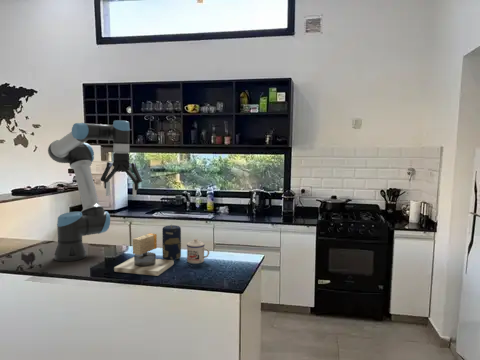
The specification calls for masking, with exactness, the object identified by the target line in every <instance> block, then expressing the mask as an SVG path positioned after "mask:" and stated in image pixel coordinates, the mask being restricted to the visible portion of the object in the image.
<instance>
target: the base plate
mask: <svg viewBox="0 0 480 360" xmlns="http://www.w3.org/2000/svg"><path fill="white" fill-rule="evenodd" d="M174 261H175V260H166V259H164V258H162V259H161V258H156V263H155V264H154V265H151V266H136V265H135V264H134V256H133V257H130V258H129V259H127V260H125V261H123V262H122V263H120V264H118V265H116V266H114V267H113V270H114V272H116V273H124V274H125V273H126V274H134V275H135V274H137V275H143V276H144V275H146V276H155V277H156V276H157V277H158V276H160V275H161V274H163V273H164V272H166V271H167V270H168V269H170V268H172V266H173V265H174V264H175V262H174Z"/></svg>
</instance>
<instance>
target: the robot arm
mask: <svg viewBox="0 0 480 360" xmlns="http://www.w3.org/2000/svg"><path fill="white" fill-rule="evenodd" d="M112 123H113V124H100V123H85V122H76V123H73V125H72V127H71V132H68V134H66V135H64V136H63V137H61V138H60V139H56V140H54V141H53V142H51V143H50V144H49V145H48V148H47V153H48V156H49V157H50V158H51V159H52V160H53V161H54V162H56V163H61V164H69V167H70V169H72V170H73V171H74V176H75V181H76V183H77V188H78V192H79V196H80V200H81V204H82V210H81V211H76V210H75V211H68V212H64V213H62V214H60V215H58V217H57V222H56V227H57V245H56V248H55V252H54V256H53V257H54V261H57V262H73V261H74V262H75V261H79V260H83V259H85V258H87V251H86V248H85V246H84V242H83V236H84V237H85V236H90V235H96V234H98V235H99V234H102V233H105V232H107V231H108V230H109V228H110V226H111V225H110V224H111V214H110V213H109V211H106V210H104V207H103V206H102V205H100V202H99V198H98V194H97V190H96V185H95V181H94V178H93V174H92V173H93V172H92V169H91V166H92V164H93V162H94V160H95V152H94V149H93V147H92V145H91V144H89V143H87V141H88V140H95V141H96V140H99V141H100V140H101V141H112V142H113V143H112V145H113V147H112V148H113V149H112V150H113V154H112V155H113V157H112V159H113V161H107V162H106V167H105V169H104V171H103V173H102V175H101V177H100V181H101V182H103V183H104V184H103V185H104V189H105V196H106V197H107V196H111V181H110V180H111V179H112V178H113V177H114V175H115V174H116V173H118V172H119V173H126V175H127V176H128V177H129V179H131V181H132V182H133V183H132V197H133V198H135V197H137V191H138V190H139V183H142V182H143V180H142V177H141V175H140V173H139V171H138V168H137V165H136V162H133V163H132V162H131V163H130V133H131V132H130V131H131V129H130V128H131V127H130V122H129V121H127V120H118V119H117V120H116V119H115V120H113V122H112ZM112 167H113V168H112ZM111 168H112V170H111ZM130 168H131V169H132V171H131V169H130ZM110 170H111V171H110ZM109 172H110V173H109ZM132 172H133V173H132Z"/></svg>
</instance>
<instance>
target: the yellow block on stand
mask: <svg viewBox="0 0 480 360" xmlns="http://www.w3.org/2000/svg"><path fill="white" fill-rule="evenodd" d="M157 236H158V235H157V233H147V234H143V235H141V236H139V237H136V238H135V237H134V238H132V254H133V255H134V256H133V257H134V264H135V265H136V266H151V265H154V264H155V263H156V259H157V258H156V257H157V254H156V253H155V252H151V251H153V250H156V249H157V247H158V246H157V242H158V241H157V240H158V239H157V238H158V237H157Z"/></svg>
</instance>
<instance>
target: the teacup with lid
mask: <svg viewBox="0 0 480 360" xmlns="http://www.w3.org/2000/svg"><path fill="white" fill-rule="evenodd" d="M205 245H206V244H205V243H204V242H202V241H200V240H199V239H198V238H193V240H191V241H189V242H187V244H186V248H187V250H186V255H187V256H186V258H187V259H186V262H187V263H189V264H202V263H203V262H205V259H206V258H208V257H209V255H210V249H208V248H207V247H205ZM205 251H206V252H207V253H206V255H205Z"/></svg>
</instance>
